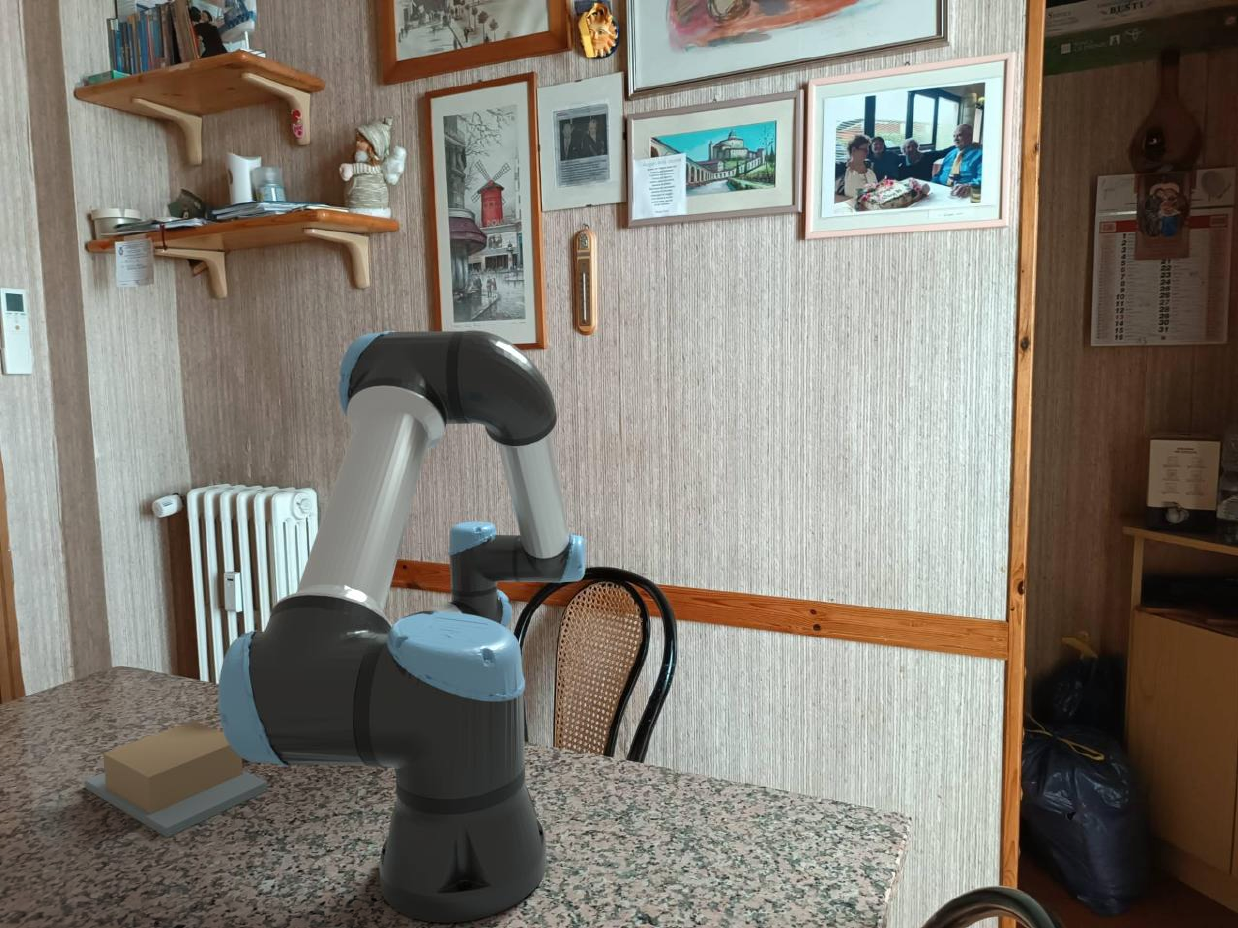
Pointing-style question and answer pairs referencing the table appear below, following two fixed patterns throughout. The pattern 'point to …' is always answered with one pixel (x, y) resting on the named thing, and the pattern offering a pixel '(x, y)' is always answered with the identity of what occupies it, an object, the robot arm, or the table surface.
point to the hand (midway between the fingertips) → (308, 677)
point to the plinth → (188, 805)
